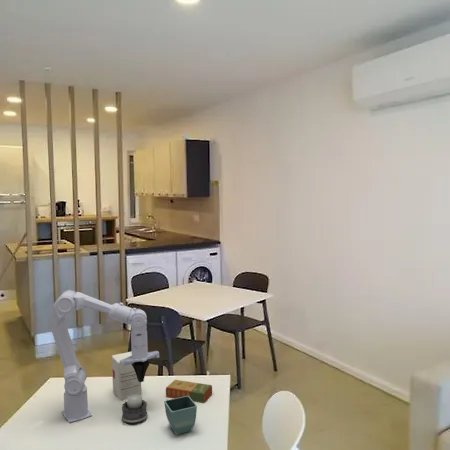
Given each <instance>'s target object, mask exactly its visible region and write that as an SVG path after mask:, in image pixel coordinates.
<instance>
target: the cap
mask: <svg viewBox="0 0 450 450" xmlns="http://www.w3.org/2000/svg"><path fill="white" fill-rule="evenodd" d="M142 400H143V394H142V395H141V394H138V393H134V394H130V395H128V396H127V399H126V401H127V409H137V408H141V407H142Z"/></svg>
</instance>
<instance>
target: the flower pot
mask: <svg viewBox="0 0 450 450" xmlns="http://www.w3.org/2000/svg"><path fill="white" fill-rule="evenodd" d="M163 402H164V411H165V416H166V418H167V421H168V423H169V425H170V427H171V429H172V430H173V432H174V433H175V434H176V435H180V434H183V433H187V432H188V433H189V432H191V431H192V430H193V428H194V426H195V424H196V419H197V412H198V411H197V409H198V405H197V404H196V402H193V400H192V399H191V398H190V397H189V396H184V397H180V398H175V399H174V398H169V399H166V400H164V401H163Z"/></svg>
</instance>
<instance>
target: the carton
mask: <svg viewBox="0 0 450 450" xmlns="http://www.w3.org/2000/svg"><path fill="white" fill-rule="evenodd" d="M212 394H213V385H212V384H207V383H206V384H205V383H201V382H200V383H199V382H192V381H186V380H179V379H174V380H173V381H172V382H170V383H169V384H168V385H167V386H166V387H165V397H166V398H169V399H175V398H180V397H184V396H189V397H190V398H191V399H192V400H193V402H194V403H198V404H205V403H206V402H207V401H208V400H209V399H210V397H211V396H212Z"/></svg>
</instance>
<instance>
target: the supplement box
mask: <svg viewBox="0 0 450 450" xmlns="http://www.w3.org/2000/svg"><path fill="white" fill-rule="evenodd" d="M130 356H132V350H131V351H128V352H123V353H117V354H113V355H111V371H112V372H111V374H112V393H113V392H114V393H113V394H114V395H115V397H116V398H117V399H118V400H119V401H120V400H121V401H123V400H127V396H128V395H130V394H134V393H138V394H141V395H142V396H143V394H142V382H139V381H138V379H137V375H136V372H135V370H134V368H133V366H132V365H131V364H129V365H125V366H124V367H121V366H120V360H122V359H125V358H127V357H130Z"/></svg>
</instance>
